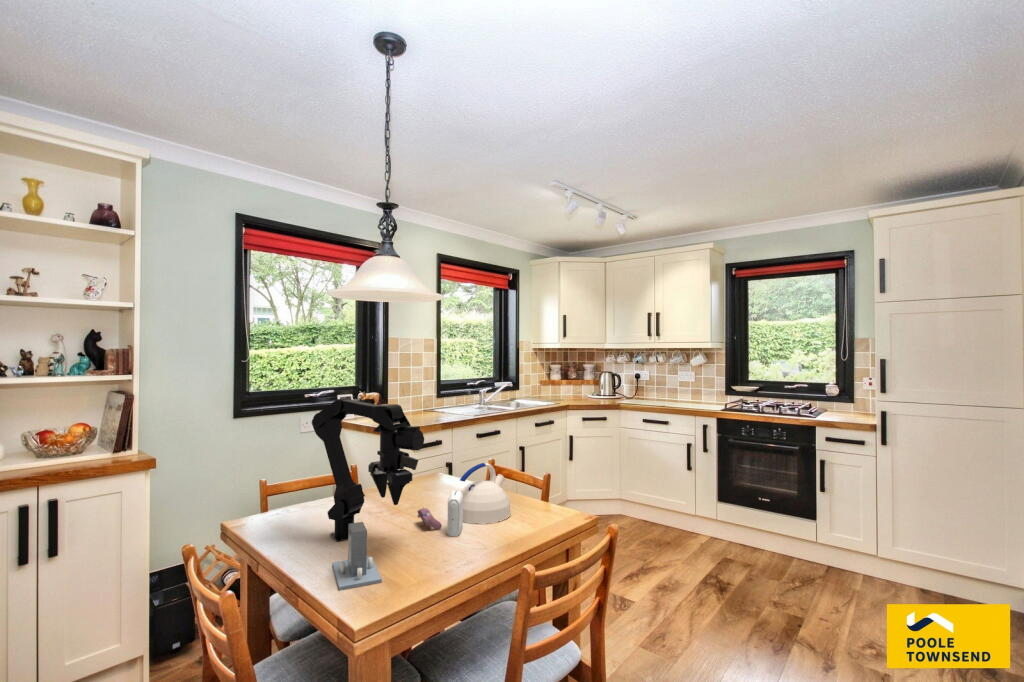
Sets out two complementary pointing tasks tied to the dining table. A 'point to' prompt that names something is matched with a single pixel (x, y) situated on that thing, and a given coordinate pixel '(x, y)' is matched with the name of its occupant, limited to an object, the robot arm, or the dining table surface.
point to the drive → (357, 548)
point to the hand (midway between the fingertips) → (389, 501)
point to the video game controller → (428, 518)
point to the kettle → (484, 498)
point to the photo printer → (455, 513)
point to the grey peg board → (360, 580)
